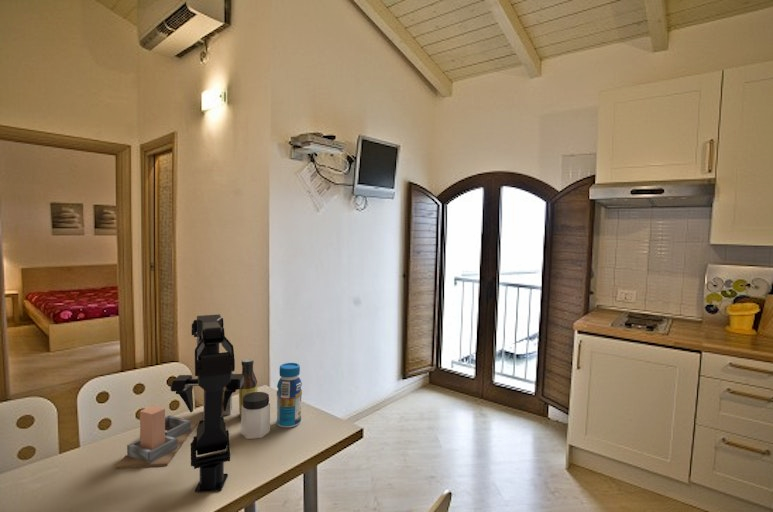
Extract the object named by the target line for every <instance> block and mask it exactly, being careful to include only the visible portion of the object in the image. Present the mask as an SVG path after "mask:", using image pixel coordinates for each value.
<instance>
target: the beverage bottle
mask: <svg viewBox="0 0 773 512" xmlns="http://www.w3.org/2000/svg"><path fill="white" fill-rule="evenodd" d="M300 373H301V367H300V364H299V363H297V362H286V363H283V364H280V366H279V377H280V378H279V380H278V381H277V384H276V387H277V390H276V424H277V425H278V427H280V428H288V429H289V428H293V427H294V428H295V427H297V426H298V425H299V424H301V422H302V395H303V390H302V388H301V387H302V385H303V384H302V380H301V378H300V377H299V375H300Z"/></svg>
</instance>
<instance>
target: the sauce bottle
mask: <svg viewBox="0 0 773 512" xmlns="http://www.w3.org/2000/svg"><path fill="white" fill-rule="evenodd" d="M240 362H241V368H242V369H241V374H243V376H244V383H243V385H242V387H241V388H240V389H238V405H239V408H238V409H239V410H238V411H239V416H240V417H241V405H243V397H244V396H245V395H247V394H249V393H253V392H258V380H257V377H256V374H255V372H254V364H255V362H254V359H253V358H245V359H242V360H241V361H240Z"/></svg>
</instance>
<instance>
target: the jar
mask: <svg viewBox="0 0 773 512" xmlns="http://www.w3.org/2000/svg"><path fill="white" fill-rule="evenodd" d="M269 402H270V395H269V394H268V393H267V392H265V391H257V392H253V393H249V394H247V395H245V396H244V397H243V405H241V416H240V418H241V419H240V420H241V421H240V422H241V423H240V429H241V432H240V433H241V435H242V436H243V437H244V438H245V439H246V440H249V439H250V440H251V439H262V438H263V437H265V436H266V435H267V434H269V433H270V431H271V403H269Z"/></svg>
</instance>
